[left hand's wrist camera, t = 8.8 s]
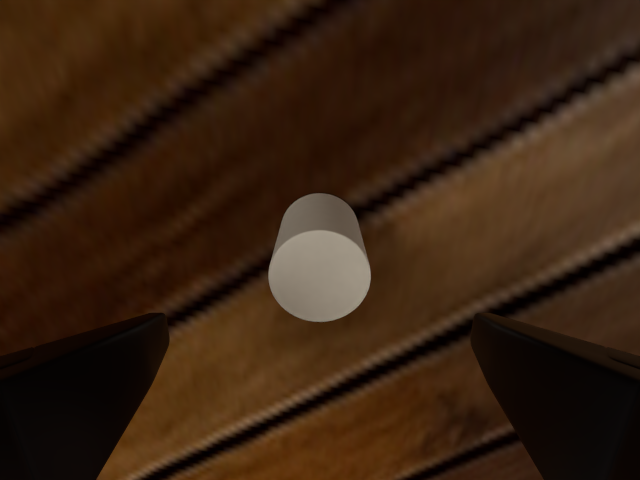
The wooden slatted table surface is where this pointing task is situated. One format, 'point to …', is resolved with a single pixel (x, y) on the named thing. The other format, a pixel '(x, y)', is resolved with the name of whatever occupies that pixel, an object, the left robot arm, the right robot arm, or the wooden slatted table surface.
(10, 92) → the wooden slatted table surface
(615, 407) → the left robot arm
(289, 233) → the cylinder
